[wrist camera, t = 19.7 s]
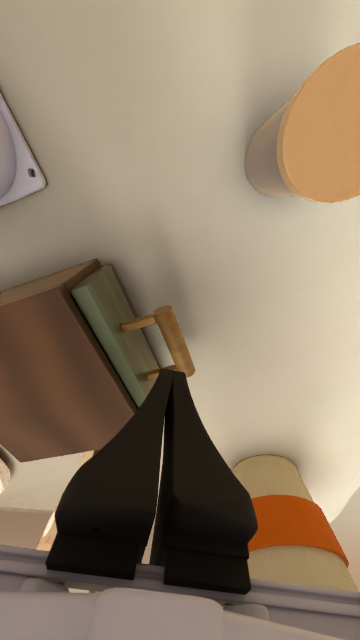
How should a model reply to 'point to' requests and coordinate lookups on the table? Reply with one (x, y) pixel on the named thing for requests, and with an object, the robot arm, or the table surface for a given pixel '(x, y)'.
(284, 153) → the jar
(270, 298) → the table surface
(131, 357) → the drawer
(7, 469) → the plastic lid
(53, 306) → the cabinet
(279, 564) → the reusable coffee cup
